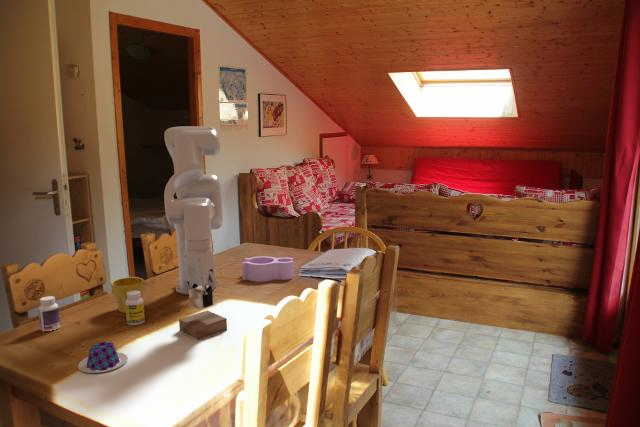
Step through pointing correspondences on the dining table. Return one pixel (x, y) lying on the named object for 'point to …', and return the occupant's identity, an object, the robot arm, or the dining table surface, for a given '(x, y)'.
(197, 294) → the maple block
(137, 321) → the supplement bottle
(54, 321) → the pill bottle
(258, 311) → the dining table surface
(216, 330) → the walnut block
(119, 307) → the plant pot
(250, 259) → the lavender double-well tray
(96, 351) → the purple patterned hat
